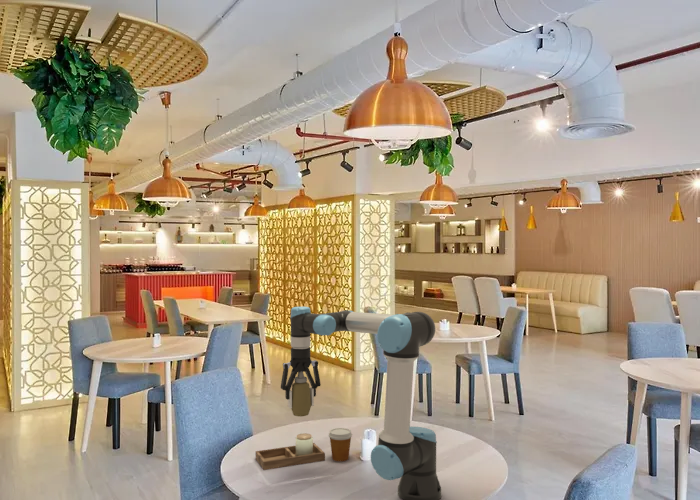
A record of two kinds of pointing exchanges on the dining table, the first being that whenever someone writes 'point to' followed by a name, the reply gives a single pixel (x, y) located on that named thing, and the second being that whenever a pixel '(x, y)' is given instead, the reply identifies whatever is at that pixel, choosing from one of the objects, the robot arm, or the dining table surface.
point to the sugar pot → (304, 444)
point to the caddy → (287, 457)
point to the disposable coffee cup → (340, 443)
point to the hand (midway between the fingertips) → (300, 406)
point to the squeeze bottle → (301, 396)
